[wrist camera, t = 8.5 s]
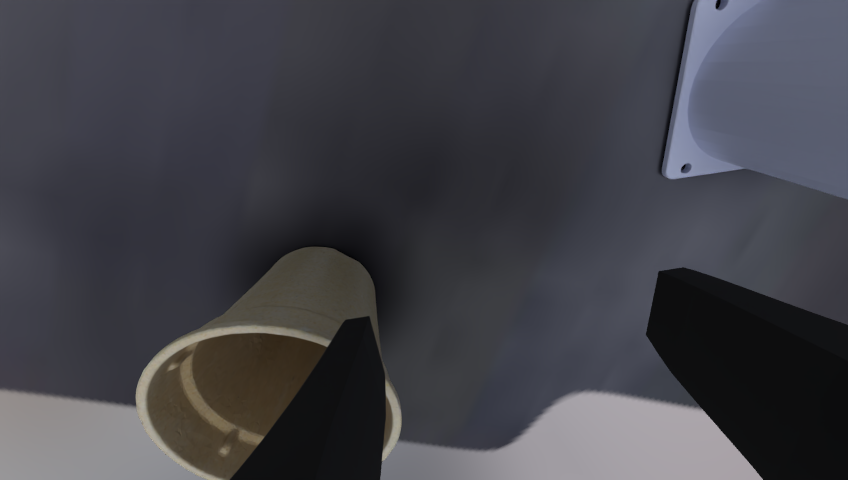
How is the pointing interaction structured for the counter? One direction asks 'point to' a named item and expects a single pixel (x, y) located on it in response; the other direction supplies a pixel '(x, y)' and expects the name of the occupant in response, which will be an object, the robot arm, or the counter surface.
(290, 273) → the flower pot
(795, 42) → the robot arm
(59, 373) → the counter surface
